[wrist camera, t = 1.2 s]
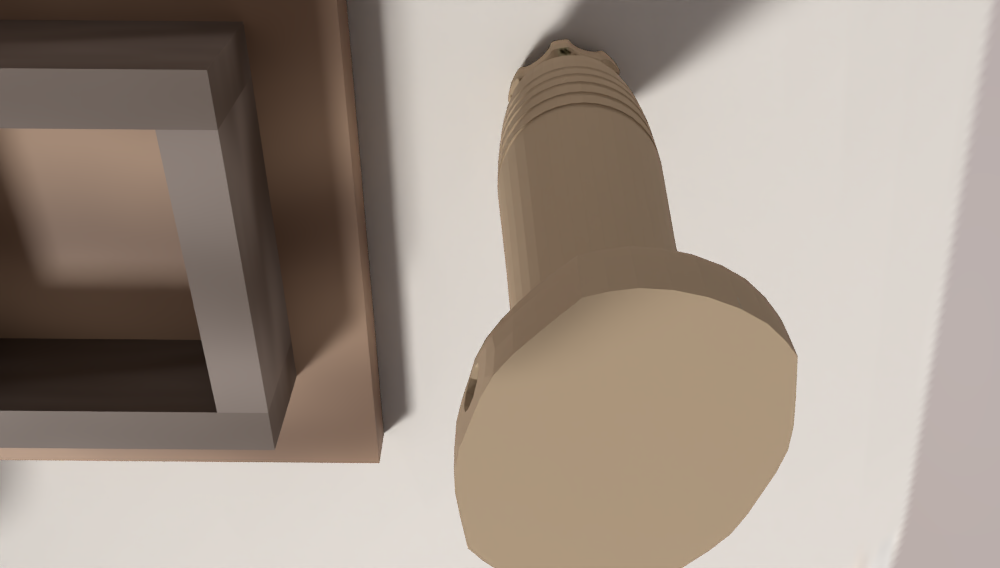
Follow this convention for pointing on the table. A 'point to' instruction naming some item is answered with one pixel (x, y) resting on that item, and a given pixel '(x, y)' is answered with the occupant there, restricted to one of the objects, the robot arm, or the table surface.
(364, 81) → the table surface
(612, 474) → the handle
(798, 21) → the table surface
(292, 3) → the holder
